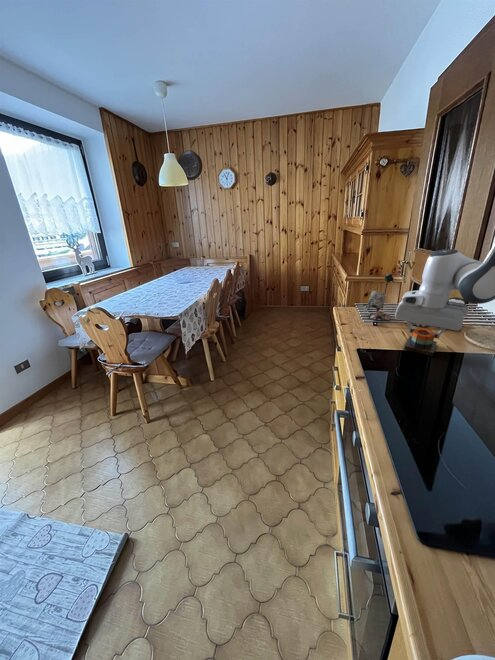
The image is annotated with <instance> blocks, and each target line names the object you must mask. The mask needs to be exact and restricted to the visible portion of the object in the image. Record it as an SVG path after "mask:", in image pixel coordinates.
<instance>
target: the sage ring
mask: <svg viewBox="0 0 495 660" xmlns="http://www.w3.org/2000/svg"><path fill="white" fill-rule="evenodd" d="M411 336H412V335H411ZM411 339H412V340H413V341H414V342H417V343H419V344H423V345H424V344H425V345H428V344H432V343H433V341H435V339H434V340H430V341H426V340H425V341H424V340H419V339H418V338H417V339H416V338H415V337H413V336H412V337H411Z"/></svg>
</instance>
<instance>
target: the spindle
mask: <svg viewBox="0 0 495 660" xmlns="http://www.w3.org/2000/svg"><path fill="white" fill-rule="evenodd" d="M420 334H424V335H427V333H426V332H421V333H420ZM411 337H412V335H409V337H408V339H407V341H406V343H405V345H404V348H403V350H405V351H409V352H414V353H417V354H420V355H425V356H430V357H433V356H434V354H435V350H436V347H437V343H438V341H435V340H434V341H433V344H432V347H431V348H427V349H424V348H423V349H422V348H418V347H416V346H413V345H412V344H411V343H410V341H411Z"/></svg>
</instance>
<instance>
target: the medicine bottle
mask: <svg viewBox="0 0 495 660" xmlns="http://www.w3.org/2000/svg"><path fill="white" fill-rule="evenodd" d="M448 301H451V302H456V303H463V304H464V305H466V306H467V301H466V300H464V299H463V298H462V297H457V296H456V297H455V296H454V297H449V299H448ZM464 307H465V306H464ZM448 330H450V329H448ZM450 331H451V330H450ZM453 331H455V330H453ZM455 332H456V331H455Z"/></svg>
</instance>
